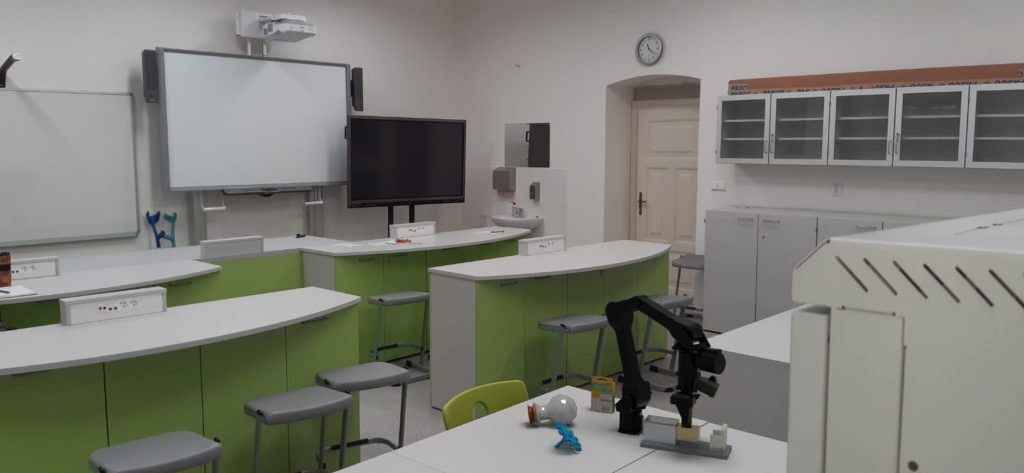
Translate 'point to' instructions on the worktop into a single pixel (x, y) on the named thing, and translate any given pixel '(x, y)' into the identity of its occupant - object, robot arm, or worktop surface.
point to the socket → (719, 440)
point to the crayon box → (602, 395)
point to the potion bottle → (554, 410)
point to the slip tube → (688, 430)
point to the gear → (567, 436)
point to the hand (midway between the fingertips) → (686, 421)
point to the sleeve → (660, 430)
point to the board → (690, 448)
